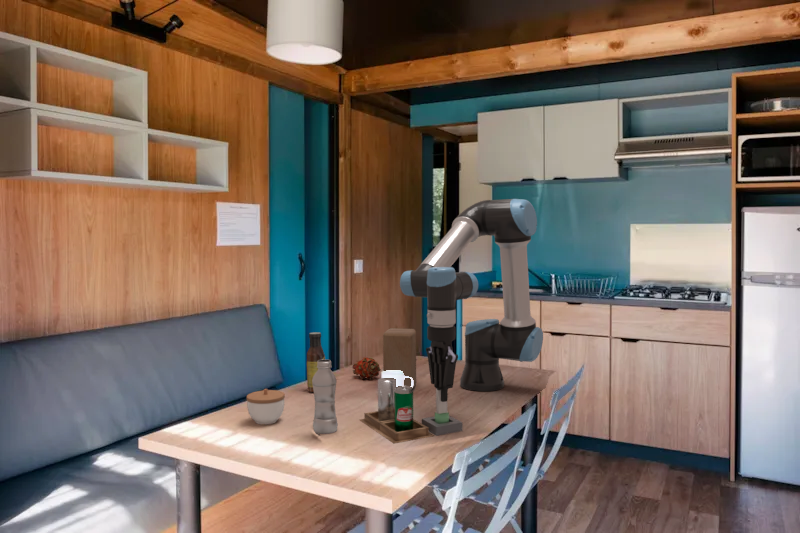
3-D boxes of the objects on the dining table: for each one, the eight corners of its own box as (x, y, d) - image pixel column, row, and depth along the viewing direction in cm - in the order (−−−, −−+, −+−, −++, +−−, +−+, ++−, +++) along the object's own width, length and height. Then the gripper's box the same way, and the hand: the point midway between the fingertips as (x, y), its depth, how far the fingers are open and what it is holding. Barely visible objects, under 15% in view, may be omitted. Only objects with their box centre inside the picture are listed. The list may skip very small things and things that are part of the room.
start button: (444, 422, 168) (444, 410, 167) (451, 426, 164) (451, 414, 164) (432, 424, 166) (432, 412, 166) (439, 428, 162) (439, 416, 162)
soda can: (396, 436, 159) (396, 390, 159) (392, 430, 164) (392, 385, 163) (415, 434, 160) (415, 389, 160) (411, 428, 165) (410, 384, 165)
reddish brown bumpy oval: (379, 385, 223) (354, 385, 230) (389, 368, 228) (364, 368, 235) (368, 369, 219) (343, 369, 226) (378, 351, 224) (353, 353, 231)
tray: (396, 417, 179) (396, 406, 179) (434, 440, 160) (434, 428, 159) (358, 423, 174) (358, 412, 173) (393, 448, 154) (393, 435, 154)
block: (411, 392, 207) (411, 333, 206) (382, 390, 209) (382, 332, 208) (416, 384, 217) (416, 328, 216) (389, 383, 219) (388, 327, 218)
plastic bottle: (327, 440, 160) (326, 364, 159) (307, 435, 164) (306, 361, 163) (342, 433, 166) (341, 359, 165) (323, 429, 169) (322, 357, 168)
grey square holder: (446, 426, 171) (446, 414, 170) (462, 435, 163) (462, 422, 163) (421, 431, 167) (421, 418, 167) (436, 440, 160) (436, 426, 160)
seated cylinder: (391, 418, 174) (390, 376, 174) (399, 423, 170) (398, 380, 169) (375, 421, 172) (374, 379, 171) (383, 426, 168) (382, 382, 167)
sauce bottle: (327, 392, 208) (327, 334, 207) (309, 394, 206) (308, 335, 204) (323, 387, 214) (322, 331, 213) (305, 389, 212) (304, 332, 211)
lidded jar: (291, 417, 180) (291, 386, 179) (272, 428, 170) (272, 395, 169) (260, 414, 184) (259, 383, 183) (239, 425, 173) (238, 392, 173)
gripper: (417, 323, 167) (417, 408, 169) (442, 329, 156) (442, 421, 157) (440, 321, 171) (441, 404, 172) (466, 327, 159) (466, 416, 161)
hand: (441, 412), depth 165 cm, fingers closed
